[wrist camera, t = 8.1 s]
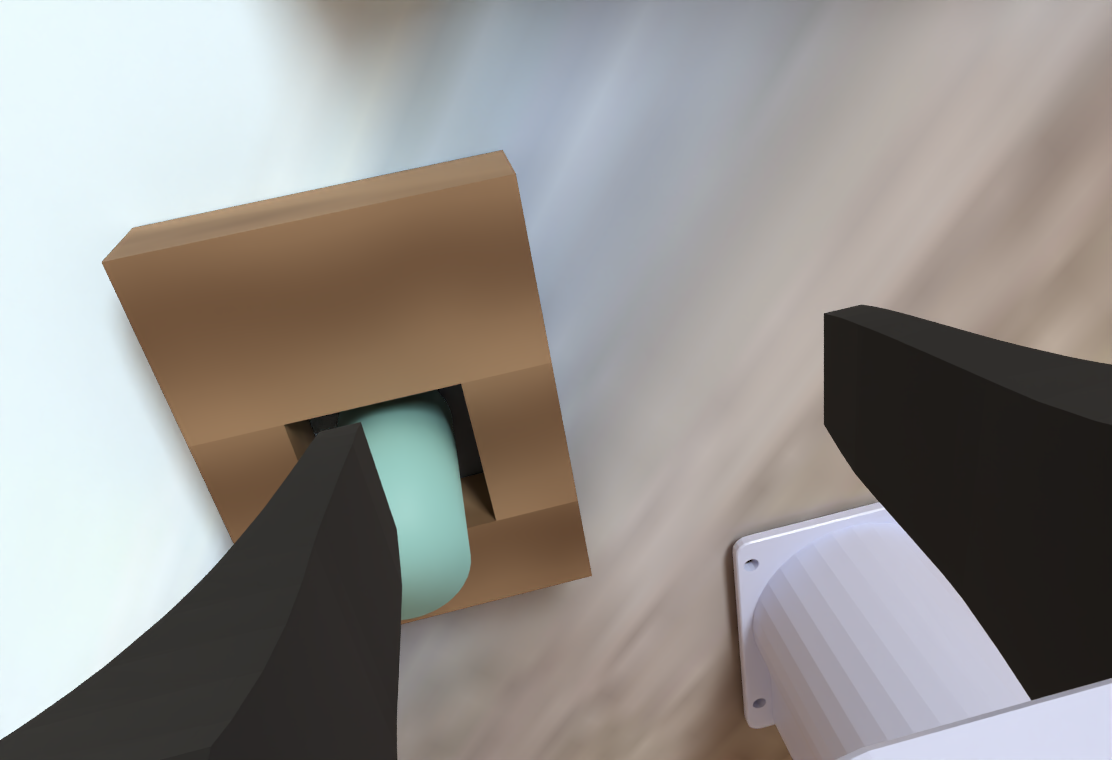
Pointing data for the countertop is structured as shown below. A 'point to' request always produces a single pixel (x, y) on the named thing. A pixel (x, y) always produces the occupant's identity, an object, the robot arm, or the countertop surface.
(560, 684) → the countertop surface
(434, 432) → the peg
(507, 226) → the socket board
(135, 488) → the countertop surface
